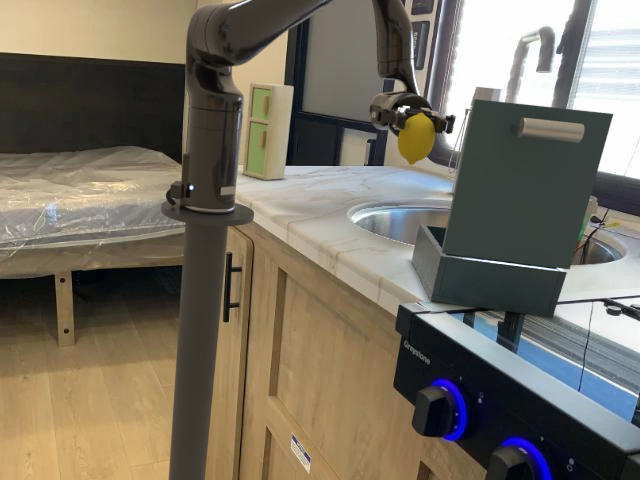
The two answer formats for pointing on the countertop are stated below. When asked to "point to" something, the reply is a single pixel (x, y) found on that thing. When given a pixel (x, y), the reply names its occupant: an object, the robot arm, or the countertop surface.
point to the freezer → (484, 278)
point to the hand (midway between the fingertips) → (422, 124)
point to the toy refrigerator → (267, 130)
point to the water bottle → (479, 94)
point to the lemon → (416, 138)
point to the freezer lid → (524, 182)
